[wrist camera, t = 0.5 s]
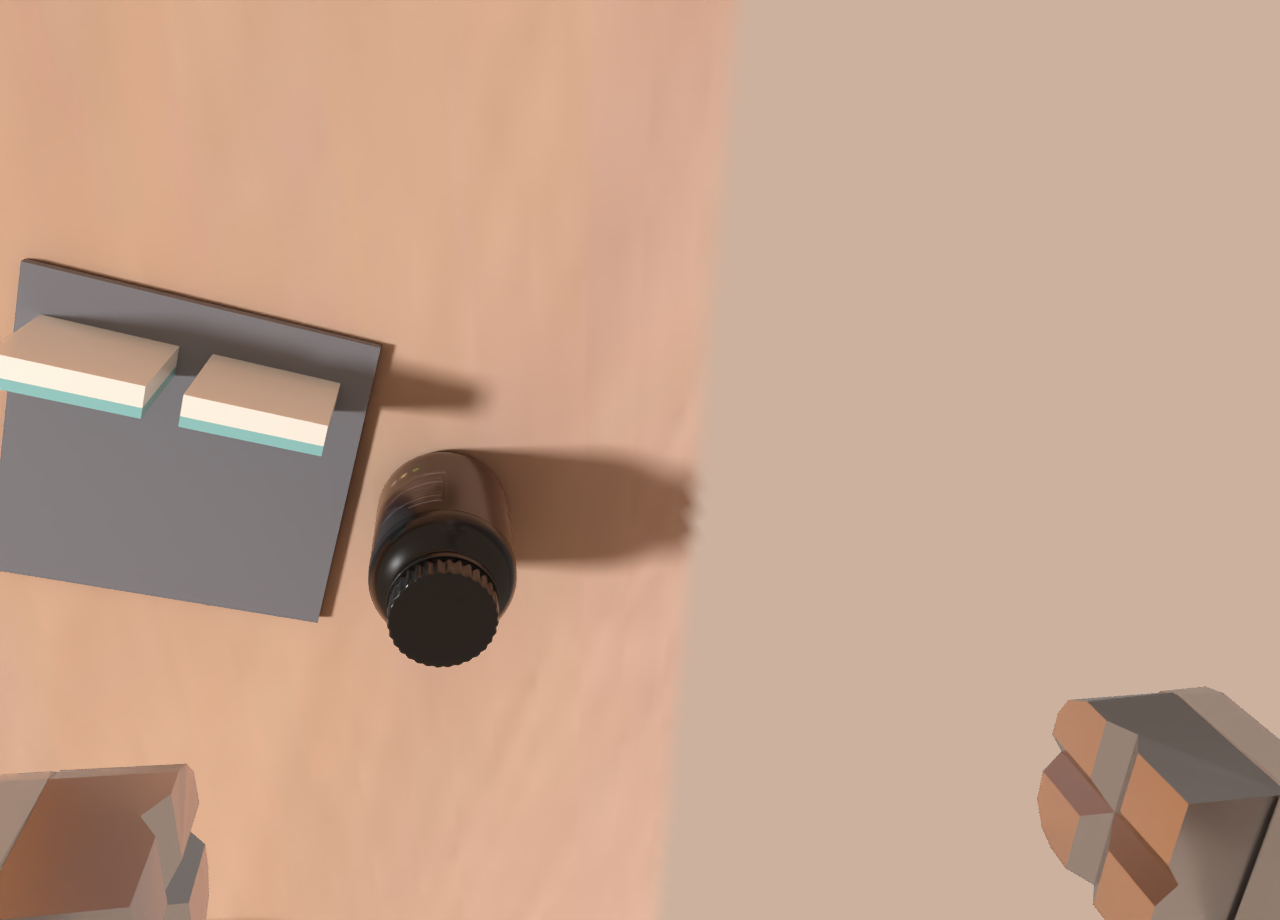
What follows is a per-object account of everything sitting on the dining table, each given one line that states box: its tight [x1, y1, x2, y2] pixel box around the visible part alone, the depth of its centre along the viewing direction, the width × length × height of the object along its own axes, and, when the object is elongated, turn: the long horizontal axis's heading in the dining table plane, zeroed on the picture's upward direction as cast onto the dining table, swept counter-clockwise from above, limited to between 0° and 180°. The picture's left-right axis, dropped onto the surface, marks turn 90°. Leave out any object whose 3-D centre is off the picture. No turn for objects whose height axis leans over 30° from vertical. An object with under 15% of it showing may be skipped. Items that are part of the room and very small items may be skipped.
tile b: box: [0, 314, 179, 419], centre depth 44 cm, size 2×6×6 cm, turn 73°
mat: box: [0, 259, 381, 623], centre depth 50 cm, size 16×16×1 cm
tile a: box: [178, 354, 340, 456], centre depth 46 cm, size 2×6×6 cm, turn 73°
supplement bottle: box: [368, 452, 517, 667], centre depth 48 cm, size 7×7×12 cm
